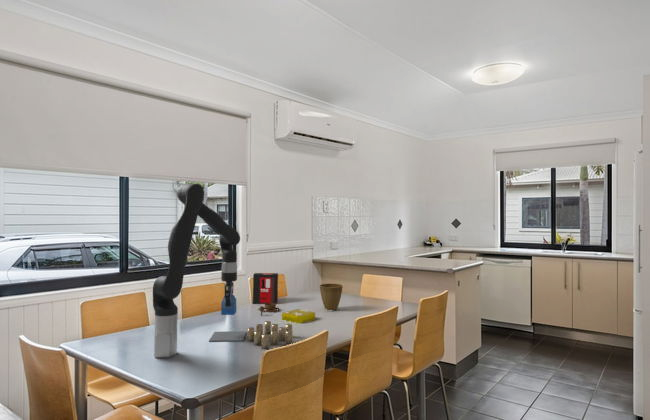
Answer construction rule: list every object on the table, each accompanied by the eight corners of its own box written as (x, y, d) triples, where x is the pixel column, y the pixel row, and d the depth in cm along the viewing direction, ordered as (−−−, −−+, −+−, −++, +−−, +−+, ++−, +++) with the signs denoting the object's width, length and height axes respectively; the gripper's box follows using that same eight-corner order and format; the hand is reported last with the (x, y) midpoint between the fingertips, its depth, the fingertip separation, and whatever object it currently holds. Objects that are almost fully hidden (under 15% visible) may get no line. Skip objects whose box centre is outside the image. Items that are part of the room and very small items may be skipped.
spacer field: (292, 349, 193) (292, 335, 194) (244, 349, 192) (244, 336, 192) (291, 332, 222) (292, 320, 222) (249, 332, 220) (250, 321, 220)
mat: (243, 341, 204) (243, 340, 205) (208, 341, 203) (208, 340, 203) (246, 332, 220) (246, 331, 220) (214, 332, 219) (214, 331, 219)
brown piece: (286, 312, 271) (286, 303, 271) (261, 317, 256) (261, 307, 256) (268, 308, 283) (268, 299, 283) (244, 312, 268) (244, 303, 268)
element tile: (316, 319, 252) (316, 311, 252) (299, 324, 240) (300, 315, 240) (297, 315, 261) (297, 308, 261) (280, 320, 249) (280, 312, 250)
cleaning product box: (252, 304, 293) (253, 274, 293) (254, 301, 302) (254, 273, 302) (277, 304, 294) (277, 274, 295) (277, 301, 303) (278, 273, 303)
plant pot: (319, 307, 285) (320, 283, 285) (342, 307, 285) (342, 283, 285) (318, 312, 270) (319, 286, 271) (342, 312, 270) (342, 287, 270)
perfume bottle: (236, 312, 215) (236, 288, 215) (234, 314, 209) (234, 290, 209) (223, 312, 215) (224, 288, 215) (221, 314, 209) (221, 290, 209)
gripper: (235, 273, 205) (234, 308, 205) (238, 269, 220) (238, 302, 220) (219, 273, 205) (218, 308, 205) (223, 269, 219) (223, 302, 219)
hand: (228, 304), depth 212 cm, fingers closed on perfume bottle, 6 cm apart
